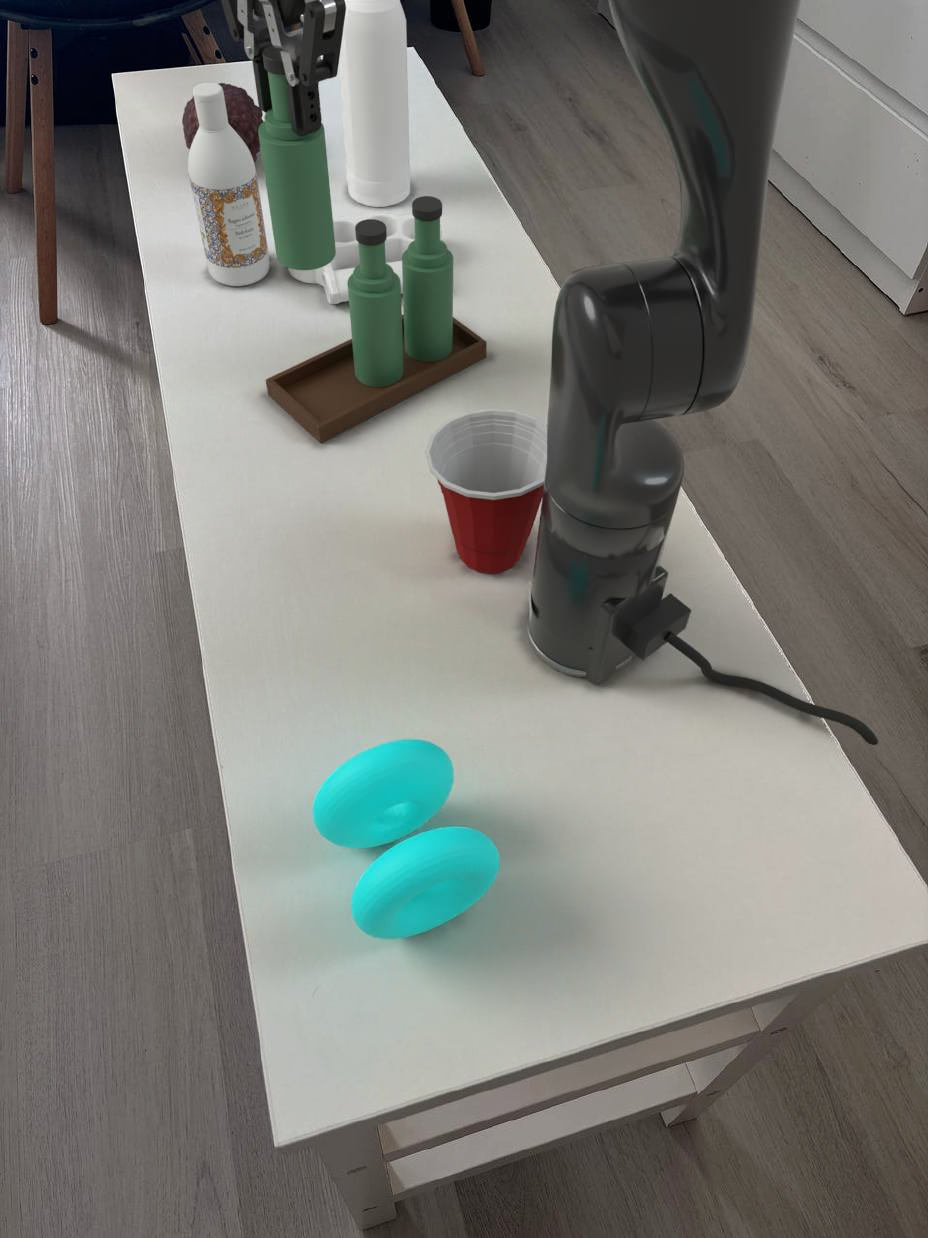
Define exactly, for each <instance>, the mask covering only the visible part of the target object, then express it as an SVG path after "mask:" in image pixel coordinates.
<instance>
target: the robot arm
mask: <svg viewBox="0 0 928 1238" xmlns="http://www.w3.org/2000/svg"><path fill="white" fill-rule="evenodd" d="M607 1H608V6H609V12H610V14H611V18H612V22H613V24H614V29H615V31H616V34H617V36H618V39H619V41H620V44H621V46H622V48H623V51H624V53H625V55H626V57H627V58H626V59H627V60H628V63H629V64H630V66H631V69H632V71H633V73H634V75H635V77H636V79H637V81H638V83H639V85H640V87H641V89H642V91H643V93H644V95H645V97H646V99H647V101H648V103H649V105H650V107H651V109H652V111H653V112H654V115H655V116H656V118H657V121H658V123H659V124H660V127H661V129H662V132H663V134H664V136H665V138H666V140H667V144H668V146H669V149H670V152H671V155H672V157H673V161H674V164H675V167H676V171H677V176H678V182H679V193H680V222H679V223H680V224H679V232H678V233H679V234H678V239H677V244H676V247H675V251H674V252H673V255H672V256H666V257H665V256H664V257H657V258H648V259H640V260H633V261H625V262H616V263H610V264H609V263H608V264H599V265H593V266H586V267H583V268H579V269H576V270H575V271H572V272H571V273H570V274H569V275H568V276H567V277H566V279H565V281H563V283H562V285H561V287H560V290H559V292H558V295H557V298H556V302H555V306H554V311H553V312H554V313H553V318H552V320H553V321H552V333H551V355H550V378H549V379H550V381H549V396H548V407H547V417H546V418H547V420H546V422H547V423H546V425H547V464H546V473H545V480H544V489H543V497H542V500H541V504H540V513H539V523H538V531H537V541H536V547H535V548H536V549H535V556H534V565H533V566H534V567H533V573H532V583H531V584H530V582H528V585H527V593H528V595H527V596H528V605H529V606H528V607H529V609H528V612H527V616H526V617H527V618H526V623H525V624H526V626H525V631H526V637H527V640H528V643H529V645H530V647H531V649H532V651H533V652H534V653H535V655H536V656H537V658H539V659H540V660H541V661H542V662H543V663H545V664H546V665H547V666H549V667H550V668H552V669H554V670H555V671H557V672H560V673H562V674H565V675H568V676H572V677H577V678H585V679H586V680H588V681H589V682H590V683H591V684H592V685H595V686H598V685H600V684H601V683H603V682H604V681H605V680H607V679H608V678H609V677H611V676H612V675H613V674H615V673H616V672H617V671H619V670H622V668H625V666H627V665H628V664H629V663H630V662H631V661H632V660H633V659H635V658H636V657H638V658H639V659H641V660H642V661H644V660H646V659H647V658H649V657H650V656H651V655H653V654H654V653H655V652H657V651H658V650H659V649H660V648H662V647H663V646H665V645H666V644H667V643H668V645H670V646H672V647H673V648H674V649H676V650H677V651H678V652H680V653H681V654H682V655H684V656H685V657H686V658H688V659H689V660H690V661H692V662H693V664H695V665H696V666H697V667H698V668H700V671H701V673H702V675H703V676H704V677H705V678H706V679H707V680H709V681H712V682H714V683H717V684H719V685H725V686H731V687H737V688H743V689H749V690H751V691H755V692H757V693H760V694H762V695H765V696H767V697H769V698H772V699H774V700H775V701H777V702H779V703H782V704H783V705H785V706H788V707H790V708H791V709H794V710H797V711H799V712H802V713H805V714H808V715H811V716H813V717H816V718H817V717H818V718H820V719H824V720H828V721H831V722H835V723H838V724H841V725H844V726H846V727H848V728H850V729H852V730H853V731H855V732H856V733H857V734H859V735H860V737H861V738H862V739H863V740H864V741H865V742H866V743H867V744H869V745H872V746H877V745H878V744H879V741H878V738H877V735H876V734H875V733H874V732H873V731H872V729H871V728H870V727H869V726H868V725H867V724H865V723H864V722H862V721H861V720H860V719H857V718H856V717H854V716H851V715H849V714H847V713H844V712H842V711H838V710H834V709H831V708H827V707H824V706H821V705H817V704H813V703H811V702H808V701H804V700H802V699H800V698H797V697H795V696H793V695H791V694H788V693H787V692H784V691H783V690H780V688H779V689H778V688H776V687H775V686H773V685H771V684H767V683H765V682H763V681H760V680H757V679H754V678H750V677H745V676H739V675H733V674H732V675H731V674H727V673H723V672H719V671H716V670H715V669H713V667H712V664H711V663H710V661H709V660H708V659H707V657H705V656H703V654H702V653H700V652H699V650H696V649H695V648H694V647H692V646H691V645H690V644H688V643H687V642H686V641H685V640H683V639H682V638H680V637H679V636H678V635H679V634H680V633H682V632H683V631H684V630H686V628H687V625H688V622H689V619H690V617H691V614H692V609H691V608H689V607H688V606H687V605H686V604H684V602H682V601H681V600H680V599H678V598H677V597H676V596H675V595H674V594H672V593H669V594H666V596H664V597H663V595H664V592H665V589H666V585H667V582H668V578H669V572H668V570H666V569H665V568H664V567H663V566H661V565H660V563H661V560H662V557H663V553H664V549H665V545H666V541H667V538H668V534H669V531H670V527H671V524H672V520H673V516H674V512H675V509H676V505H677V501H678V498H679V494H680V491H681V487H682V483H683V479H684V475H685V474H684V473H685V460H684V454H683V451H682V449H681V446H680V445H679V443H678V441H677V440H676V438H675V437H674V436H673V434H671V433H670V431H669V430H668V429H666V428H665V427H664V426H663V425H662V424H660V423H659V422H657V421H656V420H658V419H667V418H672V417H679V416H686V415H691V414H696V413H700V412H705V411H708V410H712V409H714V408H716V407H719V406H721V405H722V404H723V403H725V402H726V401H727V400H728V399H730V397H731V396H732V394H733V393H734V391H736V388H737V386H738V383H739V381H740V379H741V376H742V375H743V371H744V368H745V365H746V361H747V357H748V351H749V346H750V342H751V335H752V326H753V319H754V311H755V303H756V295H757V285H758V278H759V277H758V276H759V267H760V257H761V249H762V239H763V230H764V220H765V211H766V203H767V202H766V201H767V194H768V193H767V192H768V185H769V184H768V183H769V177H770V169H771V163H772V155H773V149H774V143H775V137H776V131H777V127H778V120H779V114H780V109H781V103H782V98H783V92H784V86H785V83H786V77H787V71H788V65H789V60H790V56H791V50H792V45H793V39H794V35H795V30H796V25H797V20H798V16H799V12H800V7H801V4H802V0H607ZM220 3H221V5H222V9H223V12H224V16H225V19H226V23H227V25H228V30H229V32H230V35H231V37H232V39H233V41H234V42H235V43H239V42H242V43H243V47H244V52H245V55H246V56H247V58H248V59H249V60H251V61H252V68H253V75H254V76H253V77H254V82H255V90H256V96H257V103H258V107H259V108H260V109H261V110H262V112H263V113H265V114H266V112H267V111H268V110H270V109H272V100H271V93H270V85H269V78H268V71H266V70H265V68H264V61H263V50H264V49H265V48H267V47H269V46H271V45H273V46H274V47H275V48H276V49H278V50H279V51H280V53H281V57H282V61H283V65H284V69H285V74H286V78H287V80H288V83H286V85H287V94H288V102H289V110H290V119H291V127H292V131H293V132H294V133H296V134H297V135H298V136H300V137H303V136H306V135H309V134H311V133H314V132H317V131H318V130H319V129H320V128H321V123H322V110H321V109H322V108H321V99H320V97H321V96H320V89H319V88H320V87H319V83H320V82H323V81H326V80H328V79H329V80H330V79H334V78H336V77H337V76H338V72H339V57H340V50H341V43H342V35H343V28H344V21H345V13H346V4H345V0H220ZM301 23H303V25H302V26H301V28H299V29H295V30H292V31H289V32H286V31H285V28H290V27H292V26H295V25H298V24H301ZM300 46H301V47H300ZM296 47H300V49H301V55H300V64H297V59H296V55H295V48H296Z"/></svg>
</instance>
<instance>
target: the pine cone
mask: <svg viewBox="0 0 928 1238" xmlns="http://www.w3.org/2000/svg"><path fill="white" fill-rule="evenodd" d="M218 84H219V85H220V86H221V87H222V89H223V93H224V99H225V105H226V111H227V117H228V123H229V125H230V126H231V127H232V128H233V129H234V130H235V132H236V133H237V134H238V135H239V136H240V137H241V139H242V140H243V141H244V143H245V144H246V146H247V147H248V149H249V151H250V153H251V155H252V158H253V161H254V164H255V163H256V162H257V159H258V156H257V155H258V153H260V152H261V147H260V140H259V133H258V130H259V127H260V125H261V124H262V123H263V122H264V121H265V120H263V117H264V116H263V115H264V112H263V111H262V110H261V109H260V108H259V105H257V104H255V100H254V98H253V97H252V96H251V95H249V93H248V92H247V90H246V89H244V88H243V87H241V86H240V87H238V86H235V85H232V84H231V83H225V82H219V83H218ZM181 120H182V121H181V123H182V130H183V131H182V132H183V136H184V141H185V146H186V148H187V149H188V150H189V151H190V148H191V145H192V142H193V140H194V137H195V135H196V133H197V131H198V128H199V121H198V116H197V111H196V106H195V101H194V96H193V95H192V98H191V99H190V100H189V101H187V102H186V105H185V106H184V110H183V114H182V118H181Z"/></svg>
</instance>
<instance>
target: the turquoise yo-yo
mask: <svg viewBox="0 0 928 1238" xmlns="http://www.w3.org/2000/svg"><path fill="white" fill-rule="evenodd" d="M454 772H455V769H454V766H453V762H452V760H451V758H450V756H449V755H448V753H447V752H446V751H445V750H444V749H443V748H441V747H440V746H438V745H437V744H435V743H433V742H431V741H429V740H423V739H419V738H418V739H417V738H405V739H404V738H403V739H397V740H393V741H392V740H391V741H388V742H384V743H381V744H378V745H375V746H373V747H370V748H368V749H366V750H363V751H361V752H359V753H358V754H356V755H354V756H352V757H351V758H349V759H348V760H346V761H345V762H343V763H342V764H340V765H339V766H338V767H337V768H336V769H335V770H334V771H332V772H331V773H330V774H329V776H328V777H327V778H326V779H325V780H324V781H323V782H322V784H321V785H320V787H319V789H318V791H317V793H316V794H315V797H314V800H313V804H312V818H313V823H314V825H315V828H316V830H317V831H318V833H319V834H320V835H321V836H322V837H323V838H324V839H326V840H327V841H328V842H330V843H332V844H333V845H336V846H339V847H342V848H347V849H368V848H375V847H379V846H383V845H386V844H389V843H392V842H395V841H398V840H400V839H402V838H404V837H406V836H408V835H409V834H412V833H413V832H415V831H416V830H418V829H420V828H421V827H423V825H425V824H426V823H427V822H428V821H430V820H431V819H432V818H434V816H435V815H436V814H437V813H438V812H439V811H440V810H441V809H442V807H443V806H444V804H445V803H446V802H447V799H448V798H449V796H450V794H451V791H452V788H453V784H454V781H455V779H454V778H455V773H454ZM500 860H501V859H500V854H499V849H498V848H497V846H496V844H495V843H494V841H493V840H492V839H491V838H490V837H489V836H488V835H486V834H485V833H484V832H482V831H480V830H478V829H475V828H472V827H465V826H459V825H458V826H457V825H456V826H444V827H439V828H438V827H437V828H433V829H429V830H426V831H423V832H420V833H417V834H415V835H413V836H410V837H408V838H406V839H404V840H402V841H401V842H399V843H396V844H394V846H391V848H389V849H388V850H386V851H384V853H382V854H381V855H380V856H378V857H377V858H376V859H374V861H373V862H372V863H371V864H370V865H369V866H368V867H367V868H366V869H365V871H364V872H363V873H362V875H361V876H360V877H359V879H358V881H357V883H356V885H355V887H354V889H353V892H352V896H351V904H350V905H351V906H350V909H351V914H352V918H353V920H354V922H355V924H356V925H357V927H358V929H360V930H361V932H364V933H365V934H366V935H368V936H370V937H372V938H376V939H381V940H398V939H405V938H410V937H413V936H416V935H418V934H423V933H425V932H428V931H430V930H432V929H435V928H437V927H439V926H441V925H443V924H446V923H447V922H449V921H451V920H453V919H454V918H457V916H458V917H459V915H461V914H462V913H464V912H465V911H467V910H468V909H469V908H471V907H472V906H473V905H475V904H476V903H477V902H478V901H480V899H481V898H482V897H484V895H485V894H486V893H488V891H489V889H490V888H491V887H492V885H493V884H494V882H495V881H496V879H497V876H498V873H499V871H500V862H501V861H500Z"/></svg>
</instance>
